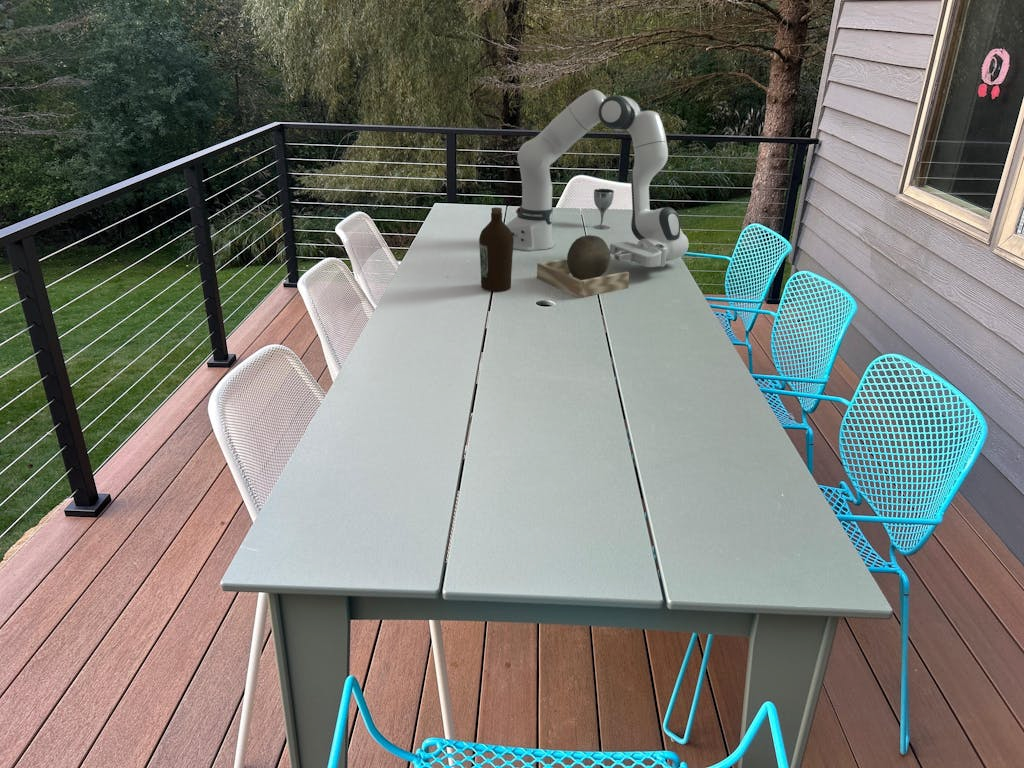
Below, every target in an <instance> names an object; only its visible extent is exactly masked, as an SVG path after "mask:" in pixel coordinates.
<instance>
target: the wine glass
mask: <svg viewBox="0 0 1024 768" xmlns="http://www.w3.org/2000/svg"><path fill="white" fill-rule="evenodd" d="M614 192H615V191H614V190H613V189H610V188H595V189H594V190H593V202H594V205H595V207H596V209H598V211H599V213H600V224H597V225H596V224H595V225H593V226H592V228H593V229H597V230H610V229H611V227H610V226H608V225H605V224H603V222H604V216H605V213H606V211H607V210H608V209H609V208H610V207H611V205H612V204H613V200H614Z"/></svg>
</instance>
